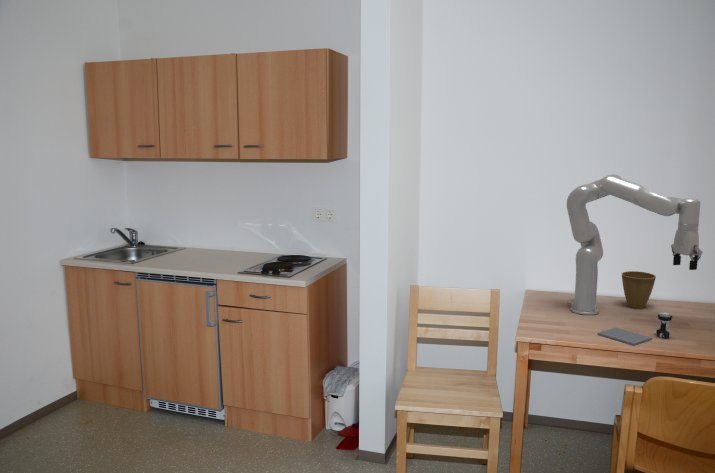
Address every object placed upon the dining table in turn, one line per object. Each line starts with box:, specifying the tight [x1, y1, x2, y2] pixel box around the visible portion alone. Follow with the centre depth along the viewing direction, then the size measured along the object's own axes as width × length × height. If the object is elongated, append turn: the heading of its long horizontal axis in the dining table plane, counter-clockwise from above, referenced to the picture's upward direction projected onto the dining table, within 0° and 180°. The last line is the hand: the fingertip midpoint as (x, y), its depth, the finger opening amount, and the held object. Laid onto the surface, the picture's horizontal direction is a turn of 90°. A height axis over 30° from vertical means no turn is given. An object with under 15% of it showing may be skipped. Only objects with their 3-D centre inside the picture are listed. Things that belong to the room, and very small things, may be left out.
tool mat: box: [597, 327, 653, 346], centre depth 239 cm, size 16×13×1 cm
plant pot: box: [621, 270, 657, 309], centre depth 282 cm, size 15×15×16 cm
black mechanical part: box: [654, 311, 673, 340], centre depth 239 cm, size 7×5×10 cm
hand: (684, 267), depth 249 cm, fingers open, 9 cm apart
